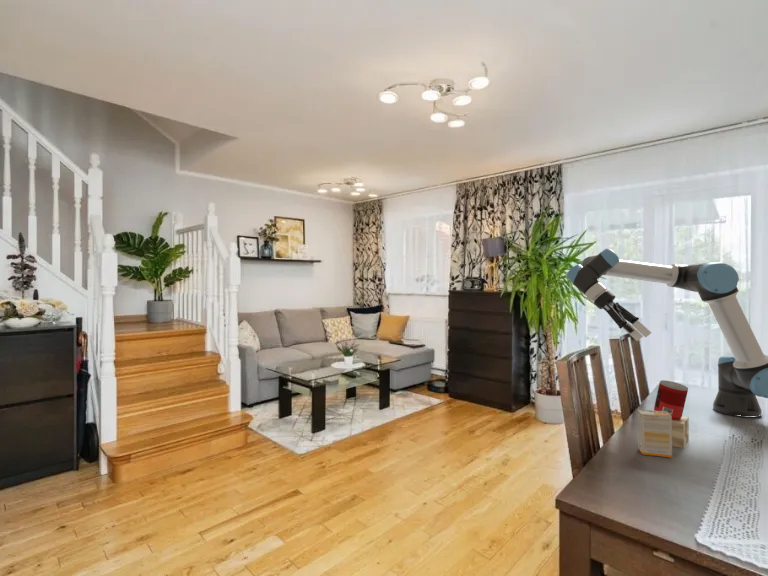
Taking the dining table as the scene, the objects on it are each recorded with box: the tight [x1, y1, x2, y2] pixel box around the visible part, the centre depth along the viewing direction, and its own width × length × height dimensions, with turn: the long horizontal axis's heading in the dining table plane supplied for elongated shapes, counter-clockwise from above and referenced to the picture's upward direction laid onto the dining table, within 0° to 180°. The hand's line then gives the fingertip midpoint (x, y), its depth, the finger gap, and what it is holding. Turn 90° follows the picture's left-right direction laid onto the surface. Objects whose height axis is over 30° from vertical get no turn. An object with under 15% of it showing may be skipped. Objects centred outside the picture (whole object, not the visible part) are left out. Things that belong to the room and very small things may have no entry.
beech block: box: [672, 415, 690, 450], centre depth 138 cm, size 10×10×8 cm
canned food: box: [653, 379, 689, 420], centre depth 138 cm, size 8×8×11 cm
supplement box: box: [637, 409, 673, 459], centre depth 128 cm, size 8×5×13 cm, turn 71°
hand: (644, 336), depth 152 cm, fingers open, 13 cm apart
